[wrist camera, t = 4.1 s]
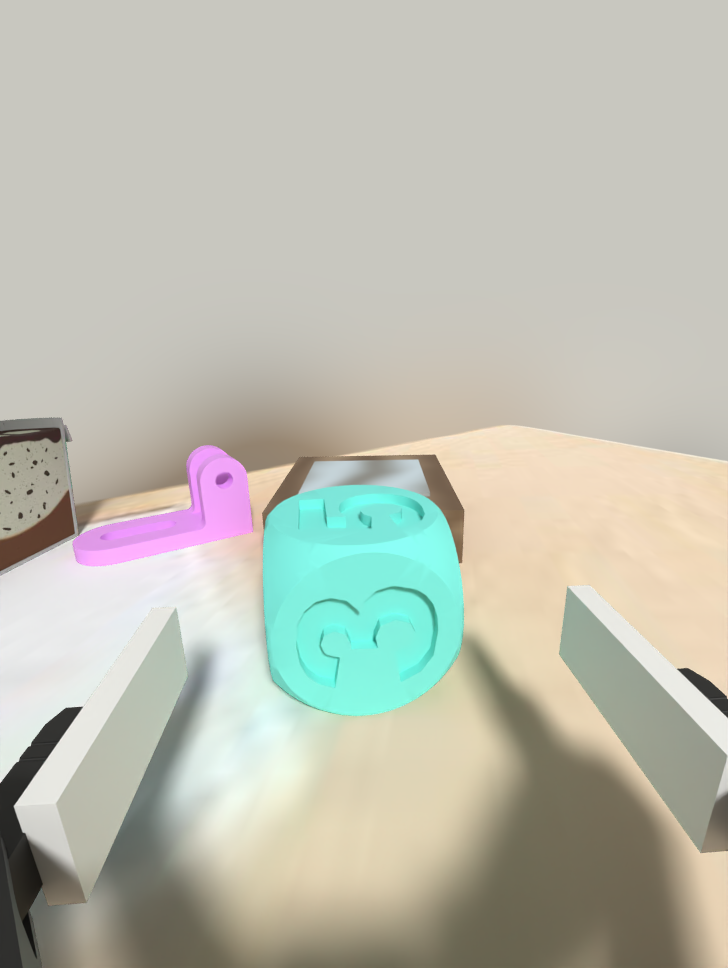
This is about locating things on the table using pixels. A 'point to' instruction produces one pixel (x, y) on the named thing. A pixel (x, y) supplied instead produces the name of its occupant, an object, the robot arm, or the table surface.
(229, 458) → the bracket
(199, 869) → the table surface
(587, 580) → the table surface
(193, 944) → the table surface
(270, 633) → the decorative dice
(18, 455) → the food container
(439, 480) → the plinth
